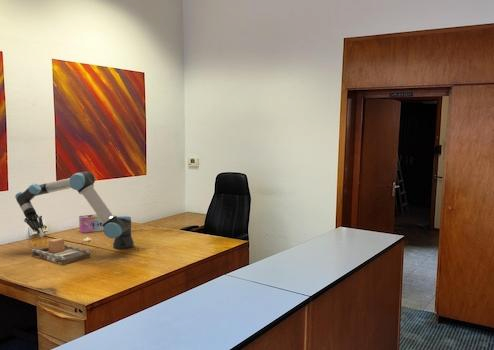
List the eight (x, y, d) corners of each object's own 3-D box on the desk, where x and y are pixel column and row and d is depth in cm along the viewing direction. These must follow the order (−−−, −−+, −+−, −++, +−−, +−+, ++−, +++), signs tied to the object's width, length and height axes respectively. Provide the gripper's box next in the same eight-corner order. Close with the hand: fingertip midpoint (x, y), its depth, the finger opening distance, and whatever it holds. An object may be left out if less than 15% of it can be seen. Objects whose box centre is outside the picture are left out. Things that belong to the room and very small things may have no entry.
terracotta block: (64, 250, 300) (64, 239, 299) (54, 253, 293) (53, 241, 292) (59, 249, 303) (59, 237, 302) (48, 251, 297) (48, 240, 296)
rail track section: (89, 257, 295) (89, 250, 294) (63, 264, 278) (63, 257, 278) (58, 249, 314) (58, 243, 313) (32, 255, 297) (32, 249, 297)
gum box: (107, 228, 383) (107, 213, 381) (110, 230, 376) (109, 214, 375) (79, 231, 369) (78, 215, 368) (81, 233, 363) (81, 217, 362)
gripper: (35, 212, 320) (49, 237, 312) (17, 215, 309) (31, 241, 301) (39, 206, 316) (53, 231, 309) (21, 208, 305) (35, 234, 298)
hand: (42, 236), depth 305 cm, fingers closed
